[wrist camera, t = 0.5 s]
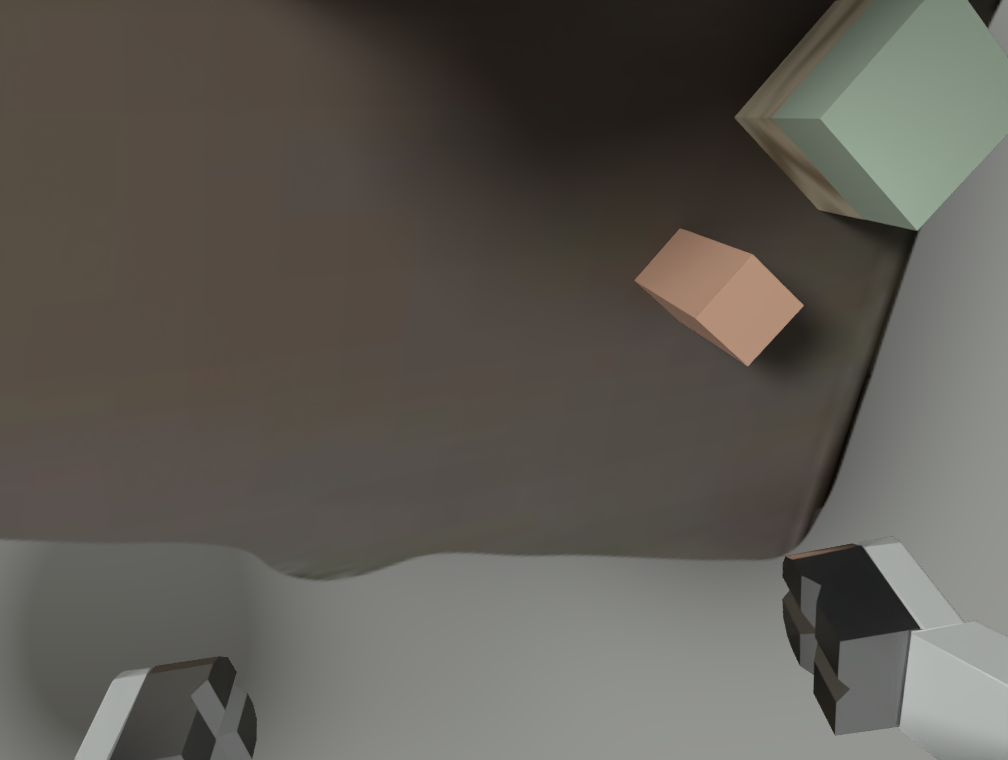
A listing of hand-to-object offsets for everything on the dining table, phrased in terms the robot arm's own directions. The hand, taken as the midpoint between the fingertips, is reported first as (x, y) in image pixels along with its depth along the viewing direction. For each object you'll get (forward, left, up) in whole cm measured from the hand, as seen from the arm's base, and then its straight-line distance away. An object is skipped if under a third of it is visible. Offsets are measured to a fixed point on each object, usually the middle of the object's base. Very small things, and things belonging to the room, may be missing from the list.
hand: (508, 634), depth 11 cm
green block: (+2, +29, -34) cm, 44 cm away
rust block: (+9, +17, -38) cm, 43 cm away
